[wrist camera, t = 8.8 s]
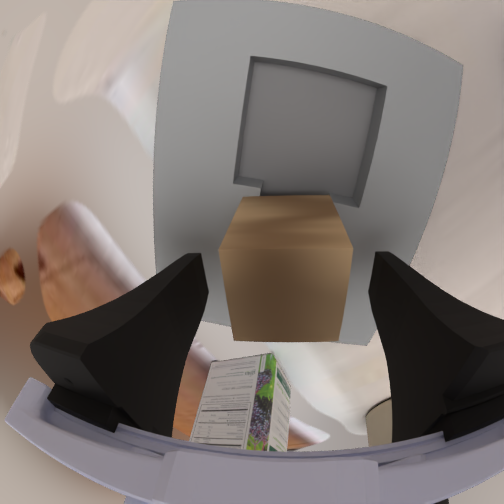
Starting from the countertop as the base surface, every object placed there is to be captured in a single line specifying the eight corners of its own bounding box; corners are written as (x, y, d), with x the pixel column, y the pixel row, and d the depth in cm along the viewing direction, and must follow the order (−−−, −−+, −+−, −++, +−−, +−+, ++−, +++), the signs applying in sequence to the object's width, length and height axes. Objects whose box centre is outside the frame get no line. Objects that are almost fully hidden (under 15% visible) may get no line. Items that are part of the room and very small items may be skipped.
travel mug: (383, 426, 27) (391, 543, 12) (352, 414, 25) (356, 555, 10) (435, 400, 24) (457, 523, 8) (413, 383, 22) (437, 539, 6)
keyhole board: (444, 67, 9) (463, 65, 7) (361, 325, 18) (366, 345, 16) (187, 12, 10) (173, 1, 8) (169, 292, 19) (159, 310, 17)
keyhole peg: (325, 186, 13) (353, 248, 8) (323, 254, 15) (338, 340, 10) (247, 187, 14) (218, 249, 8) (253, 255, 16) (233, 340, 10)
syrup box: (293, 386, 23) (282, 534, 10) (235, 393, 25) (209, 527, 12) (272, 350, 20) (250, 534, 8) (208, 360, 22) (164, 517, 10)
